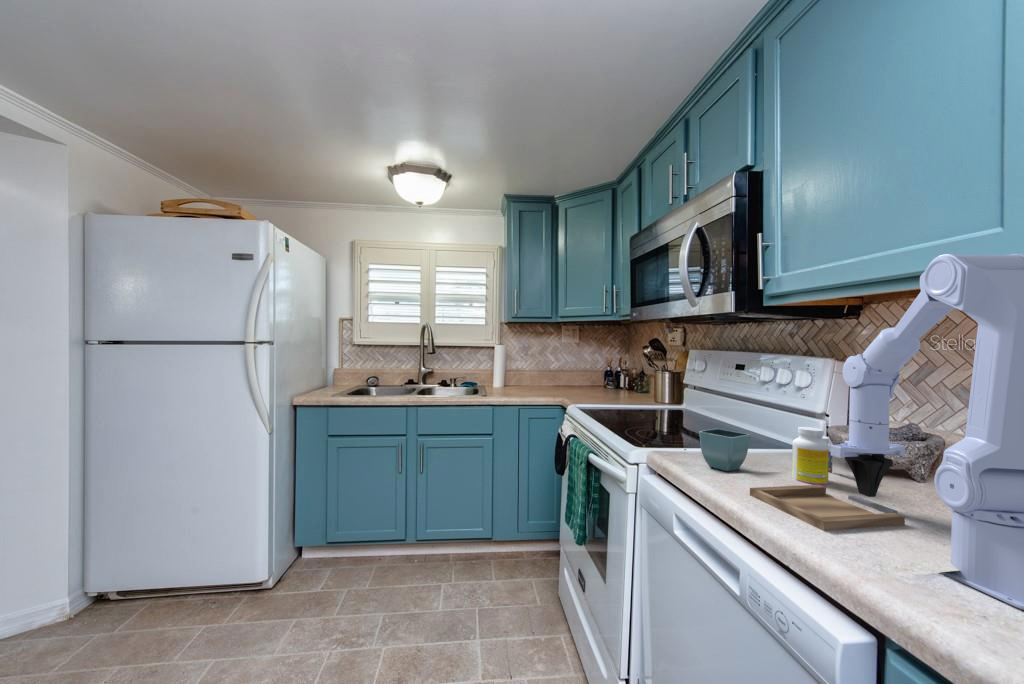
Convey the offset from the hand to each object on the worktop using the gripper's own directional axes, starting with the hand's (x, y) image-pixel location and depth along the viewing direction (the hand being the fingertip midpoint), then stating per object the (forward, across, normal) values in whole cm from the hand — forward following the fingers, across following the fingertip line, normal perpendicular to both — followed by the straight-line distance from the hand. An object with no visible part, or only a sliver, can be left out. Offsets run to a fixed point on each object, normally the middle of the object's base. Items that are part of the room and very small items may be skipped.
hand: (867, 495), depth 79 cm
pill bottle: (+4, -15, -24) cm, 29 cm away
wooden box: (+4, +10, 0) cm, 11 cm away
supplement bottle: (+4, -3, -15) cm, 16 cm away
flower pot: (+4, +7, -30) cm, 31 cm away
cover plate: (+4, -4, 0) cm, 6 cm away
